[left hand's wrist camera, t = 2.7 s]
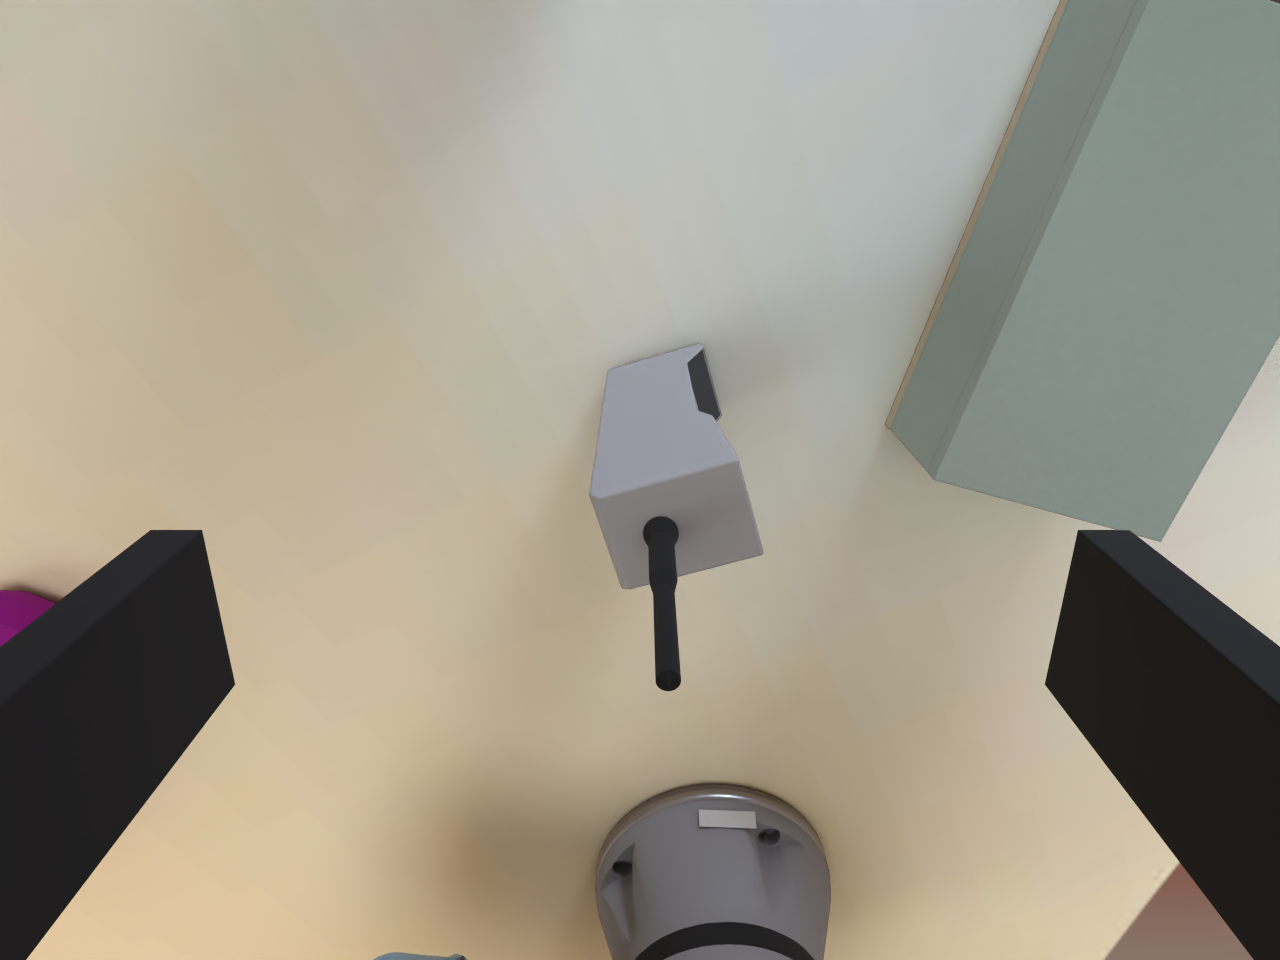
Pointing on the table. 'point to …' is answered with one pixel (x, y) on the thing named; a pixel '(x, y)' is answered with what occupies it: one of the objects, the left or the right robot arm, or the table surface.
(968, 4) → the table surface
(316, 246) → the table surface
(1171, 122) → the sage green rectangular box
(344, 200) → the table surface
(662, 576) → the vintage mobile phone
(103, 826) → the left robot arm
